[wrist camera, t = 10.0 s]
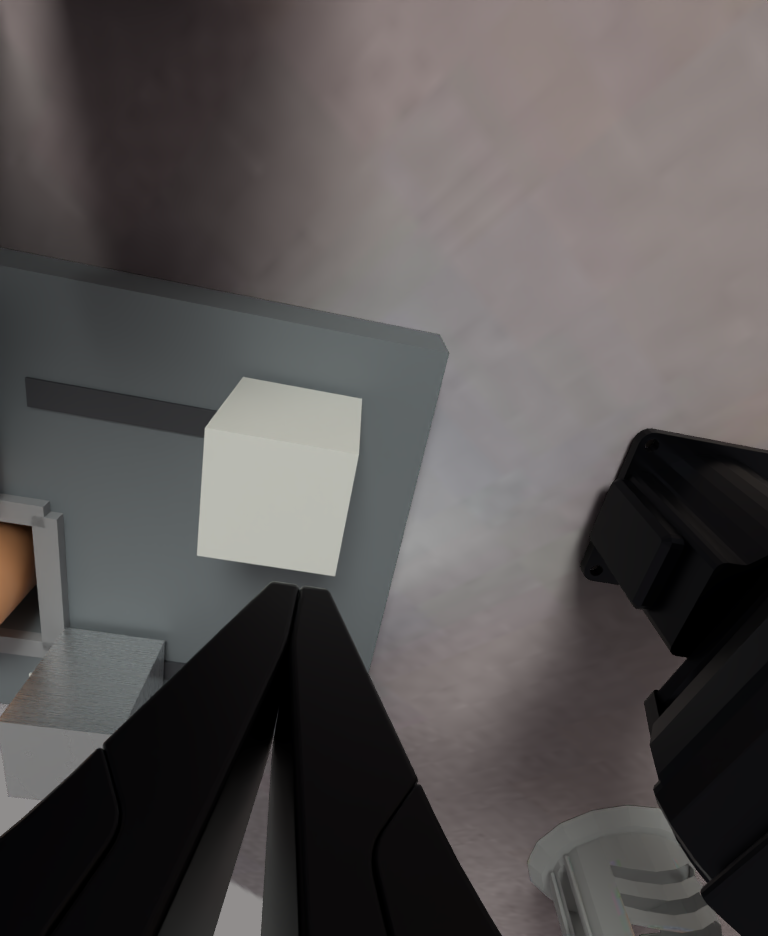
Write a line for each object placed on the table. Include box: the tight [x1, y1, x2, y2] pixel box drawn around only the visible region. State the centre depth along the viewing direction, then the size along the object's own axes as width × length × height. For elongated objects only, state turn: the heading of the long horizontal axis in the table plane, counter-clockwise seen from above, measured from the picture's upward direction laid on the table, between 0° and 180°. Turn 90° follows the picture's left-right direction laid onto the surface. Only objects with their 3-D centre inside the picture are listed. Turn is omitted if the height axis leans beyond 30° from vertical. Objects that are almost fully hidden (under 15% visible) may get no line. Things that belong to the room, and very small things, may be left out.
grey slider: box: [0, 627, 165, 800], centre depth 19 cm, size 4×4×4 cm
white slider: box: [197, 377, 362, 576], centre depth 15 cm, size 4×4×4 cm
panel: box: [0, 247, 449, 736], centre depth 20 cm, size 18×17×3 cm
